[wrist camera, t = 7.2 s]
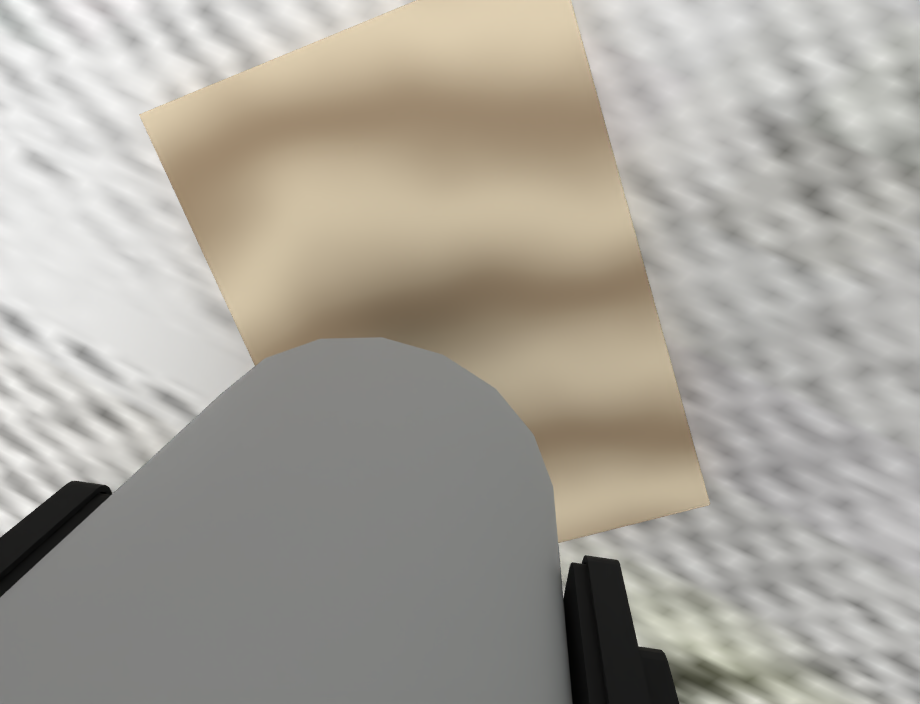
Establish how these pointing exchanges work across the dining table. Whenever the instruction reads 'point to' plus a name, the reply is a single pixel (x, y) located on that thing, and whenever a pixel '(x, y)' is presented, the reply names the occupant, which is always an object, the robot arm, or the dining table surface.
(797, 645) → the dining table surface
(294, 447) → the can
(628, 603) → the robot arm
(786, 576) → the dining table surface
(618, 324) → the oak board
